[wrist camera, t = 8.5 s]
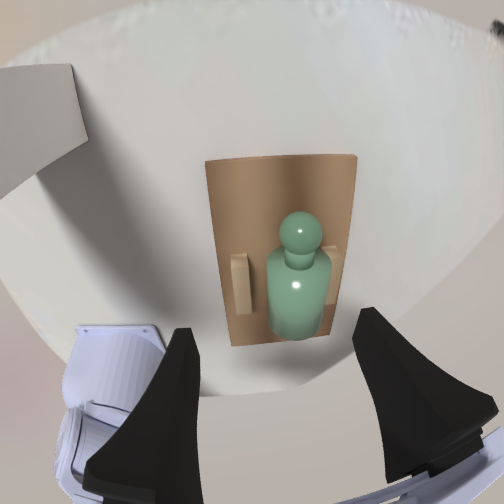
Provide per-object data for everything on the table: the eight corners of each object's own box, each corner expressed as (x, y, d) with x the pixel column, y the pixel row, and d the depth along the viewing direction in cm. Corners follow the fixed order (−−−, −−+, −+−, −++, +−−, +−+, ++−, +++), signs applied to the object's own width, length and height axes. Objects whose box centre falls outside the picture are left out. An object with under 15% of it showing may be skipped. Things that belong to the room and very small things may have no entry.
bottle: (281, 348, 20) (285, 239, 15) (259, 309, 23) (254, 205, 18) (332, 328, 21) (352, 222, 16) (305, 294, 25) (313, 194, 19)
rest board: (231, 341, 28) (232, 361, 26) (205, 161, 17) (202, 172, 15) (328, 330, 28) (334, 348, 26) (353, 154, 18) (368, 165, 16)
